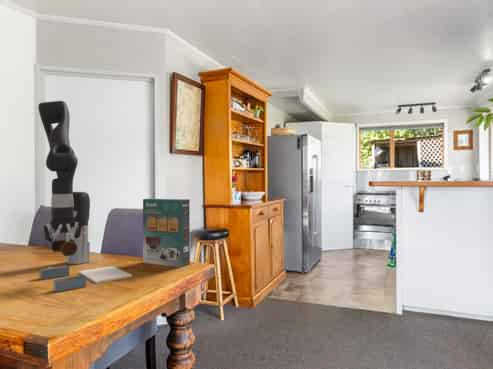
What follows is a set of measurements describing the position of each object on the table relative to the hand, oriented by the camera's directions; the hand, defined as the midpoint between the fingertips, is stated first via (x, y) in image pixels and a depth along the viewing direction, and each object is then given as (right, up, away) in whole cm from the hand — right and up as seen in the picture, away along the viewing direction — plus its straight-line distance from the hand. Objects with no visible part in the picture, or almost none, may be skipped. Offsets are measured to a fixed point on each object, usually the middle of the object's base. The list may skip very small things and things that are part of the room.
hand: (63, 250), depth 135 cm
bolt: (0, -1, 0) cm, 1 cm away
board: (+12, -12, +10) cm, 20 cm away
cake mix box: (+32, -12, +31) cm, 46 cm away
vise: (-2, -12, +2) cm, 12 cm away
